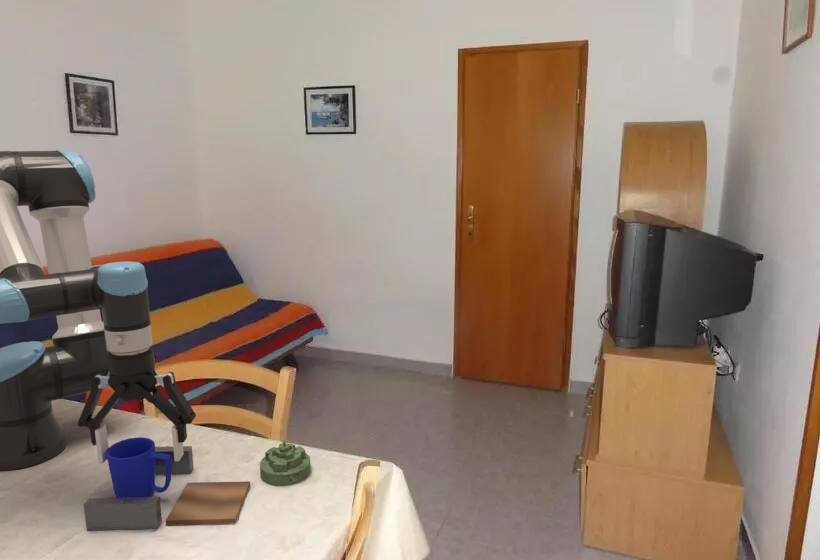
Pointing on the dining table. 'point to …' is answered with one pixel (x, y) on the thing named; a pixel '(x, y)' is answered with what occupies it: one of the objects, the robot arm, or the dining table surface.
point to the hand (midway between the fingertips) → (141, 459)
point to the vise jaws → (134, 501)
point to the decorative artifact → (285, 465)
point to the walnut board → (209, 503)
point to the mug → (136, 467)
